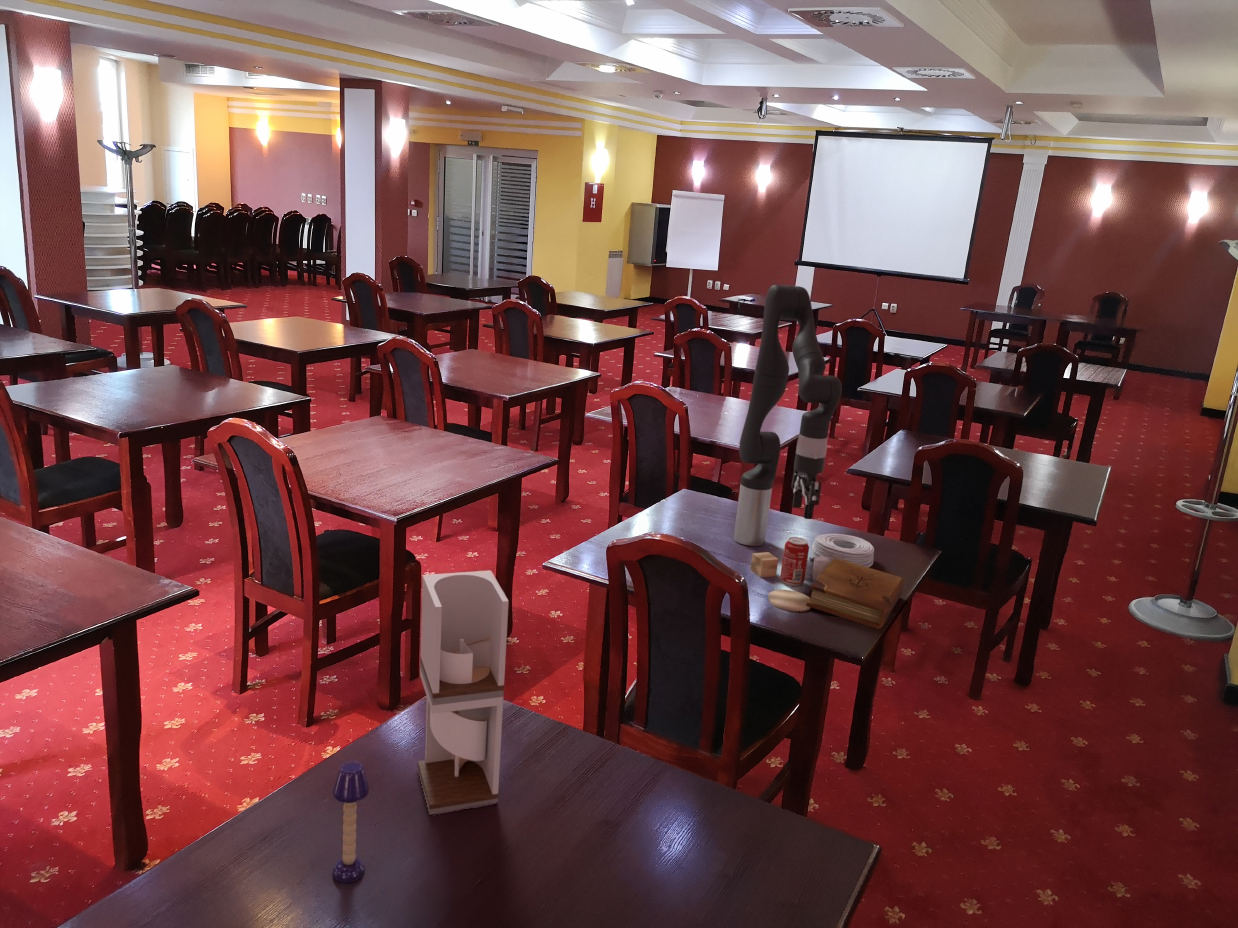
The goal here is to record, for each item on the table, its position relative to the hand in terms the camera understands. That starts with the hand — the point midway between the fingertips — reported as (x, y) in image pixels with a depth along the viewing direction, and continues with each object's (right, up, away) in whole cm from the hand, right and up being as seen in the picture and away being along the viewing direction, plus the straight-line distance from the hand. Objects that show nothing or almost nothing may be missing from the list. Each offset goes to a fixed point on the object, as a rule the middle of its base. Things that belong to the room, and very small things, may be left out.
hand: (802, 512), depth 231 cm
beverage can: (-2, -19, +5) cm, 20 cm away
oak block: (-8, -17, +10) cm, 21 cm away
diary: (+12, -23, -4) cm, 26 cm away
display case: (-74, -40, -88) cm, 121 cm away
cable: (+16, -15, +25) cm, 33 cm away
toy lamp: (-85, -44, -107) cm, 144 cm away
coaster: (-4, -22, -7) cm, 23 cm away
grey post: (+6, -18, +9) cm, 22 cm away
